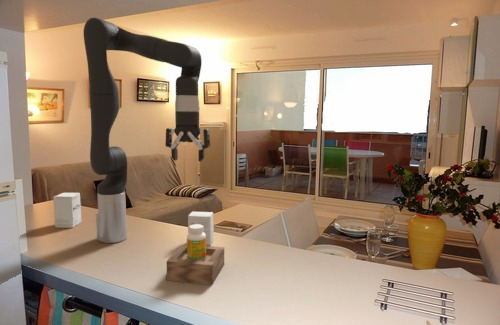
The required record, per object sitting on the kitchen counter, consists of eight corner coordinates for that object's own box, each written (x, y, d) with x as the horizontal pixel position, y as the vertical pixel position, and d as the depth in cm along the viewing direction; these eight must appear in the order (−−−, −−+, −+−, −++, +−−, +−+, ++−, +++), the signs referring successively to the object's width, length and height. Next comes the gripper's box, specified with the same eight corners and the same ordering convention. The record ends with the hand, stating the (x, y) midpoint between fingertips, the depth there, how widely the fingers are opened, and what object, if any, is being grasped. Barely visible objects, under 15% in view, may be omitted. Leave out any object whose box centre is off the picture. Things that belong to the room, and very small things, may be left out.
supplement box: (73, 228, 142) (71, 196, 140) (54, 227, 142) (52, 196, 140) (82, 222, 149) (80, 192, 148) (64, 222, 150) (62, 192, 148)
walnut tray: (167, 280, 100) (166, 261, 99) (183, 261, 112) (183, 244, 111) (212, 284, 97) (212, 265, 97) (224, 264, 110) (224, 247, 109)
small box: (213, 240, 131) (213, 211, 129) (210, 245, 125) (210, 216, 124) (192, 239, 131) (191, 211, 130) (188, 244, 126) (187, 215, 124)
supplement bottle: (190, 264, 101) (190, 230, 99) (184, 257, 106) (184, 224, 104) (208, 260, 103) (208, 227, 102) (202, 253, 108) (202, 222, 107)
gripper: (161, 110, 113) (162, 161, 115) (205, 110, 110) (205, 163, 113) (170, 110, 120) (171, 158, 122) (212, 110, 118) (212, 160, 120)
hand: (188, 160), depth 117 cm, fingers open, 8 cm apart
